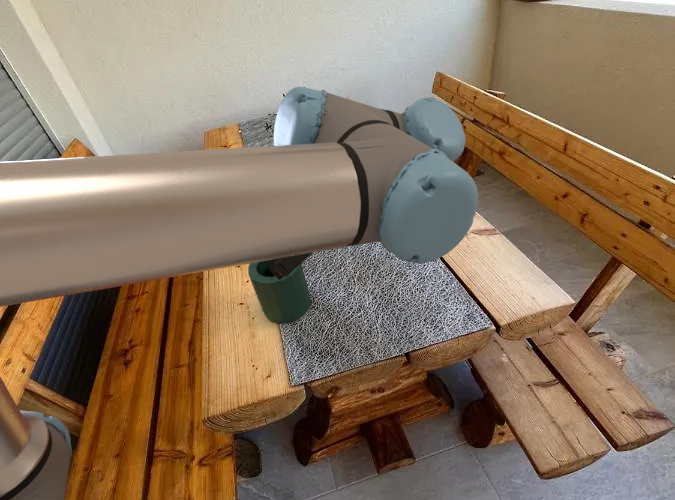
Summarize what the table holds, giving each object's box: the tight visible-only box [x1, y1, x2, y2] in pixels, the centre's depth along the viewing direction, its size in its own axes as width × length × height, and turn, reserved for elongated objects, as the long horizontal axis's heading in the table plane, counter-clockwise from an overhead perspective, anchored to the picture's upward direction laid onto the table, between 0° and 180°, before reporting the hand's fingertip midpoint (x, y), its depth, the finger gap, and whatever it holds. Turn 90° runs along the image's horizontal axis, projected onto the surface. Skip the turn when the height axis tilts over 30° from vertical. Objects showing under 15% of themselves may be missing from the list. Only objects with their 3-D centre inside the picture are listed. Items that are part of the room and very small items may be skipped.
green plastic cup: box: [247, 258, 312, 324], centre depth 82 cm, size 11×11×12 cm
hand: (299, 249), depth 69 cm, fingers open, 13 cm apart
